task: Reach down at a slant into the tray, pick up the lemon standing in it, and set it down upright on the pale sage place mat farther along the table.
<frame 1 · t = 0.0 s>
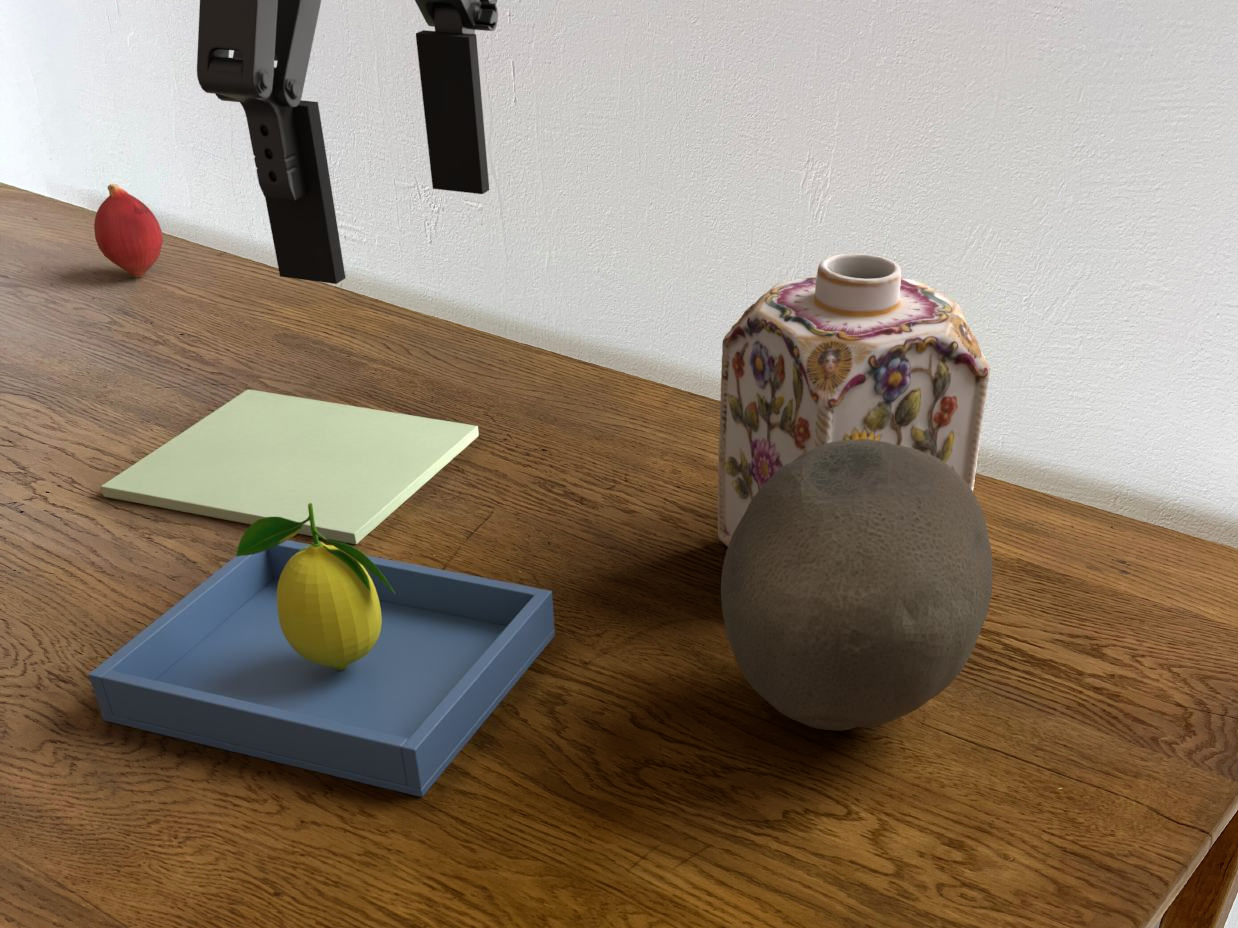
hand: (392, 231, 62), 24 cm above the table, tool pointing down, fingers open, 13 cm apart
decorative jar: (835, 562, 87), on the table
onion: (139, 278, 128), on the table
cantaloupe: (842, 720, 74), on the table
mat: (298, 465, 98), on the table
tray: (339, 676, 77), on the table
lemon: (338, 671, 77), resting on tray
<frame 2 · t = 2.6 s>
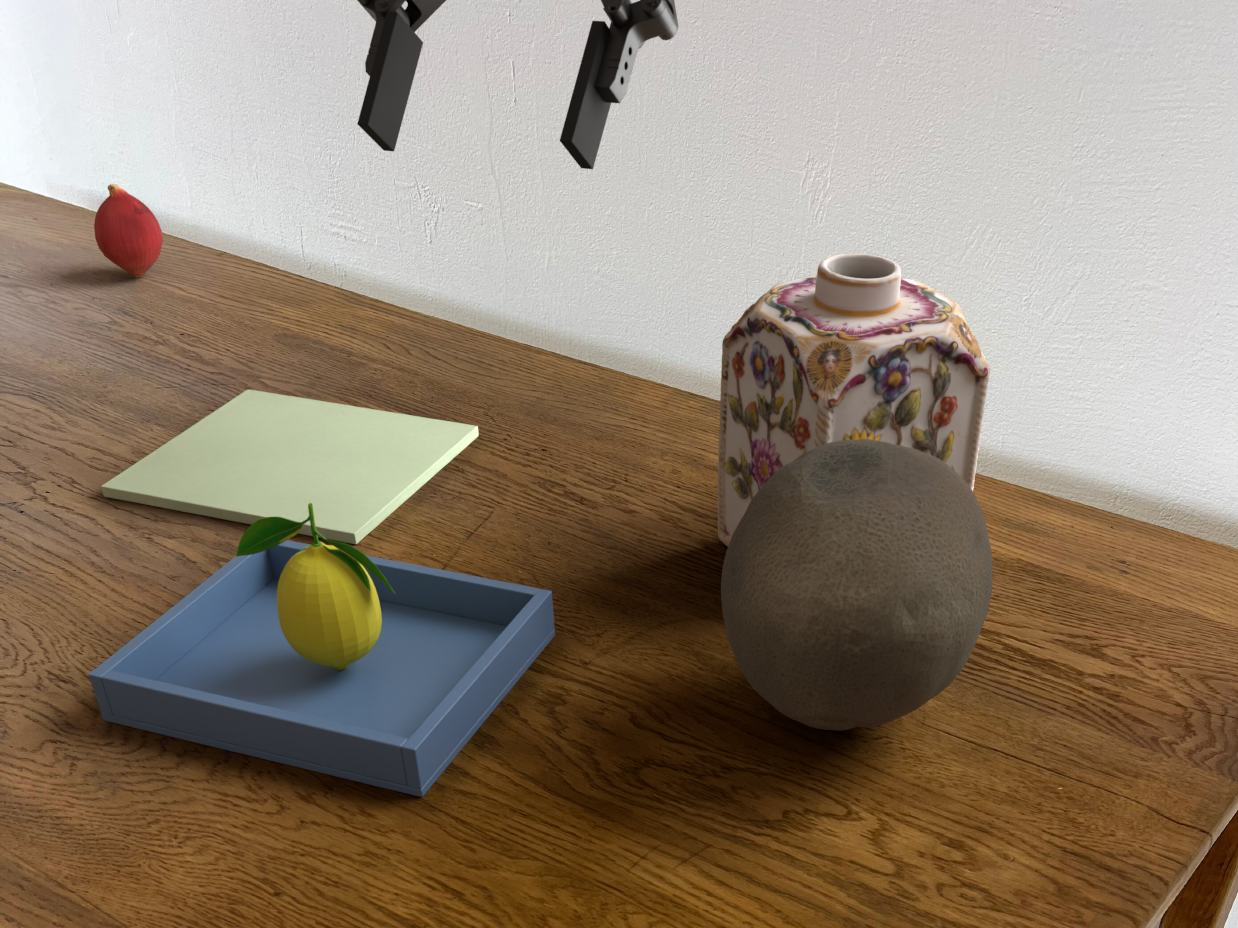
hand: (472, 147, 77), 22 cm above the table, tool tilted 40°, fingers open, 13 cm apart
nothing on the table moved.
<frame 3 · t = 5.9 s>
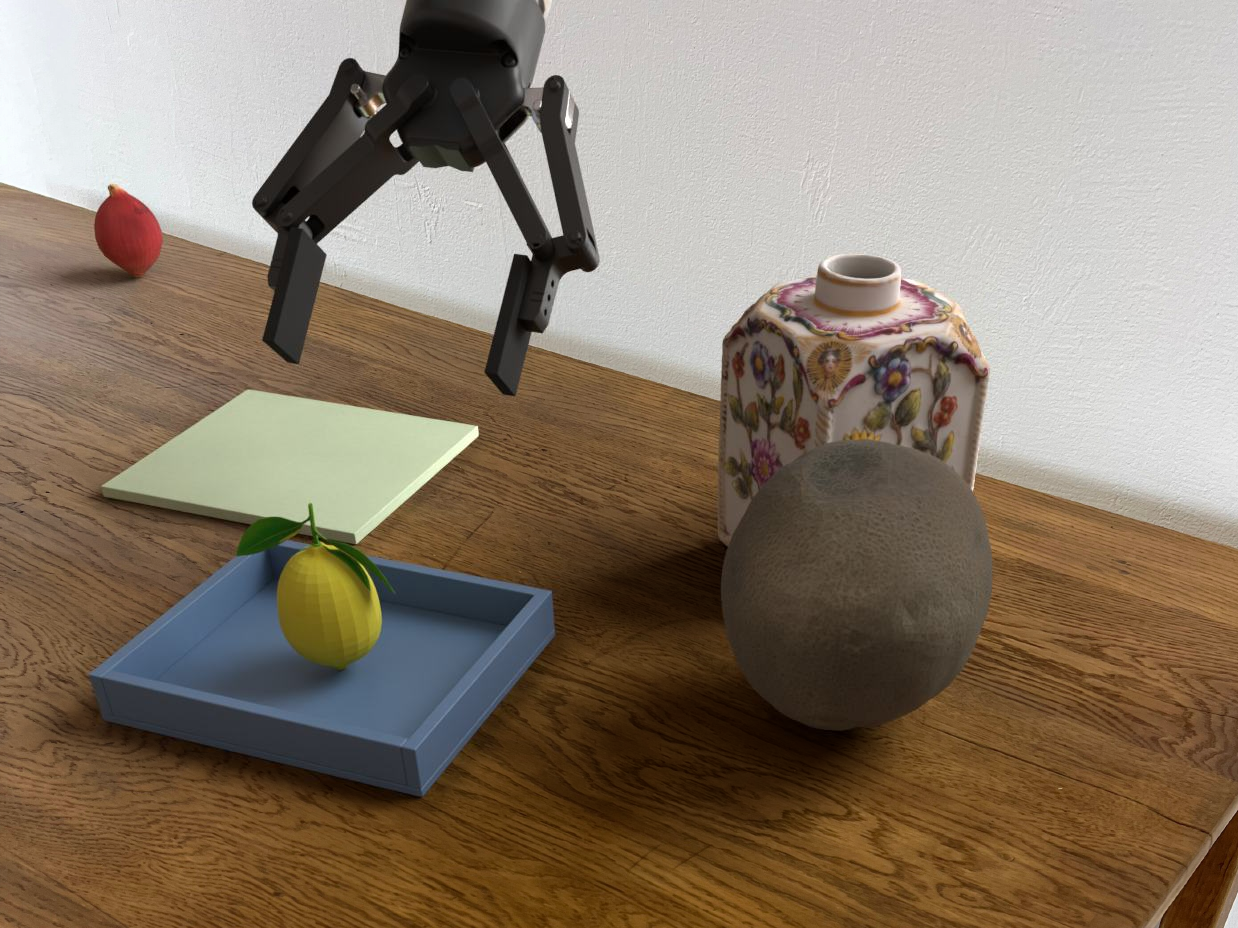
hand: (387, 369, 74), 14 cm above the table, tool tilted 45°, fingers open, 13 cm apart
nothing on the table moved.
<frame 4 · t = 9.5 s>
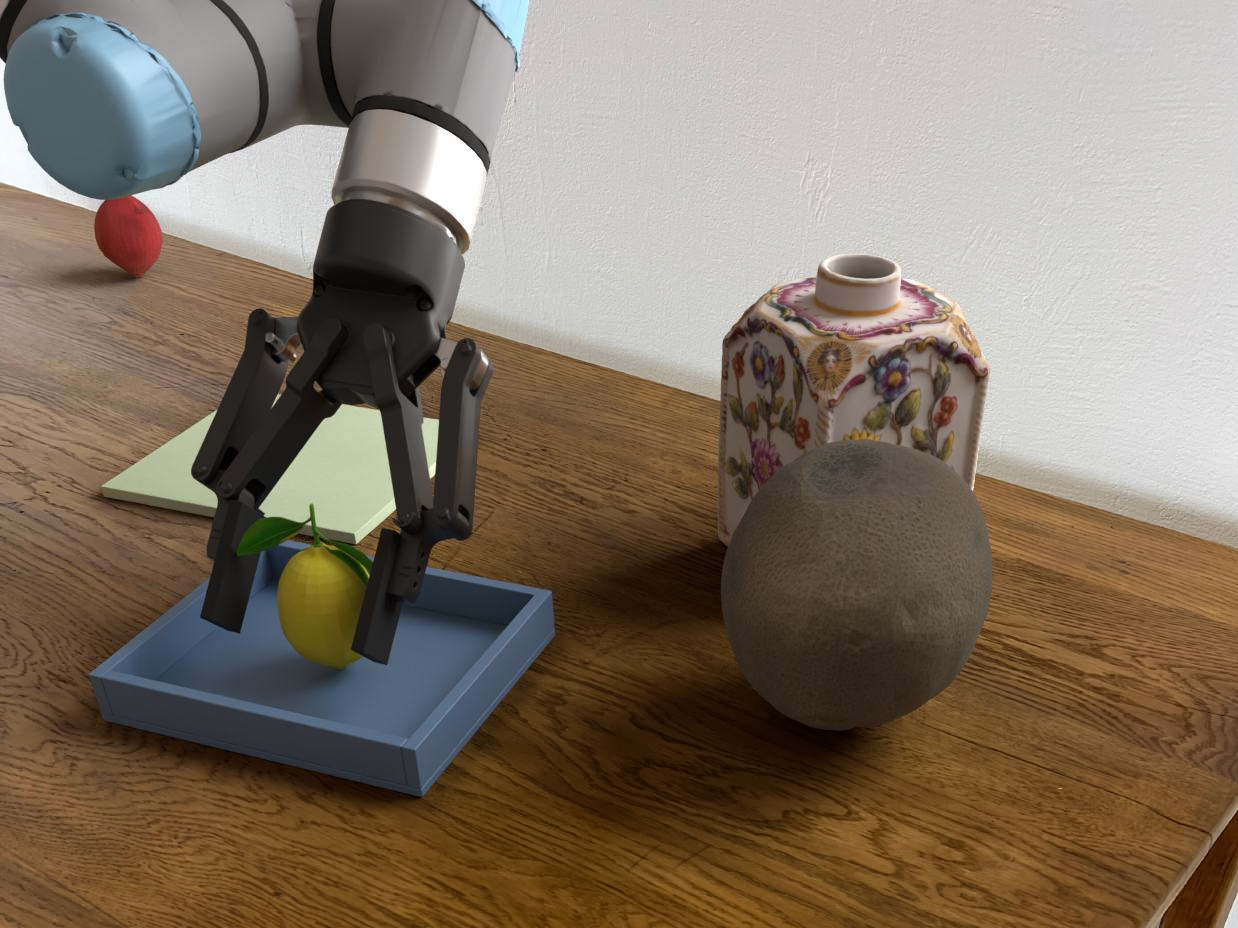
hand: (293, 641, 72), 4 cm above the table, tool tilted 45°, fingers closed on lemon, 8 cm apart
lemon: (338, 671, 77), resting on tray, touching gripper
everything else where it was.
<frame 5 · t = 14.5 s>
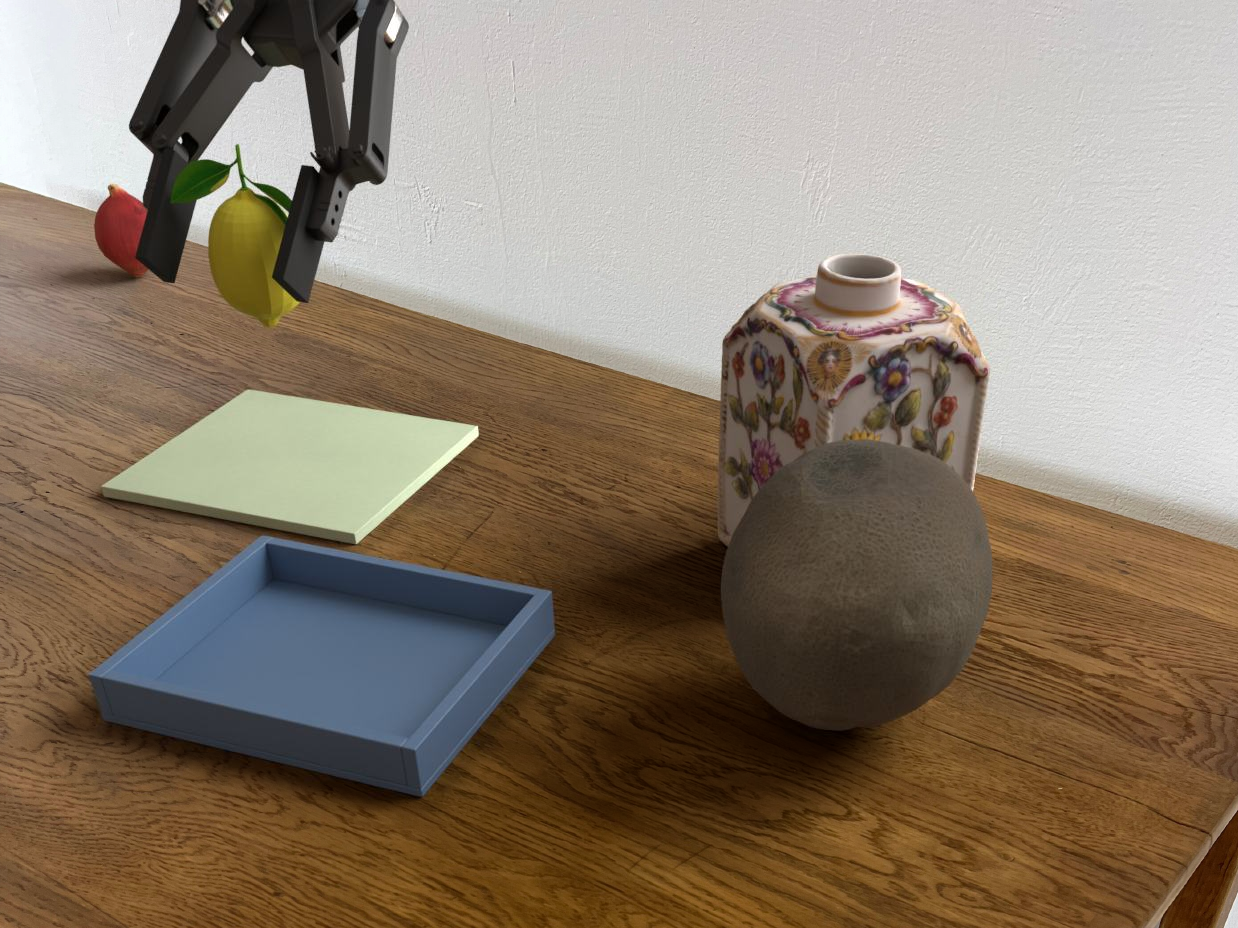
hand: (221, 280, 78), 17 cm above the table, tool tilted 45°, fingers closed on lemon, 8 cm apart
lemon: (267, 330, 83), point 13 cm above the table, touching gripper
everything else where it was.
when the fingers open (5 cm above the table, at t = 19.4 s): lemon stays where it is, resting on mat.
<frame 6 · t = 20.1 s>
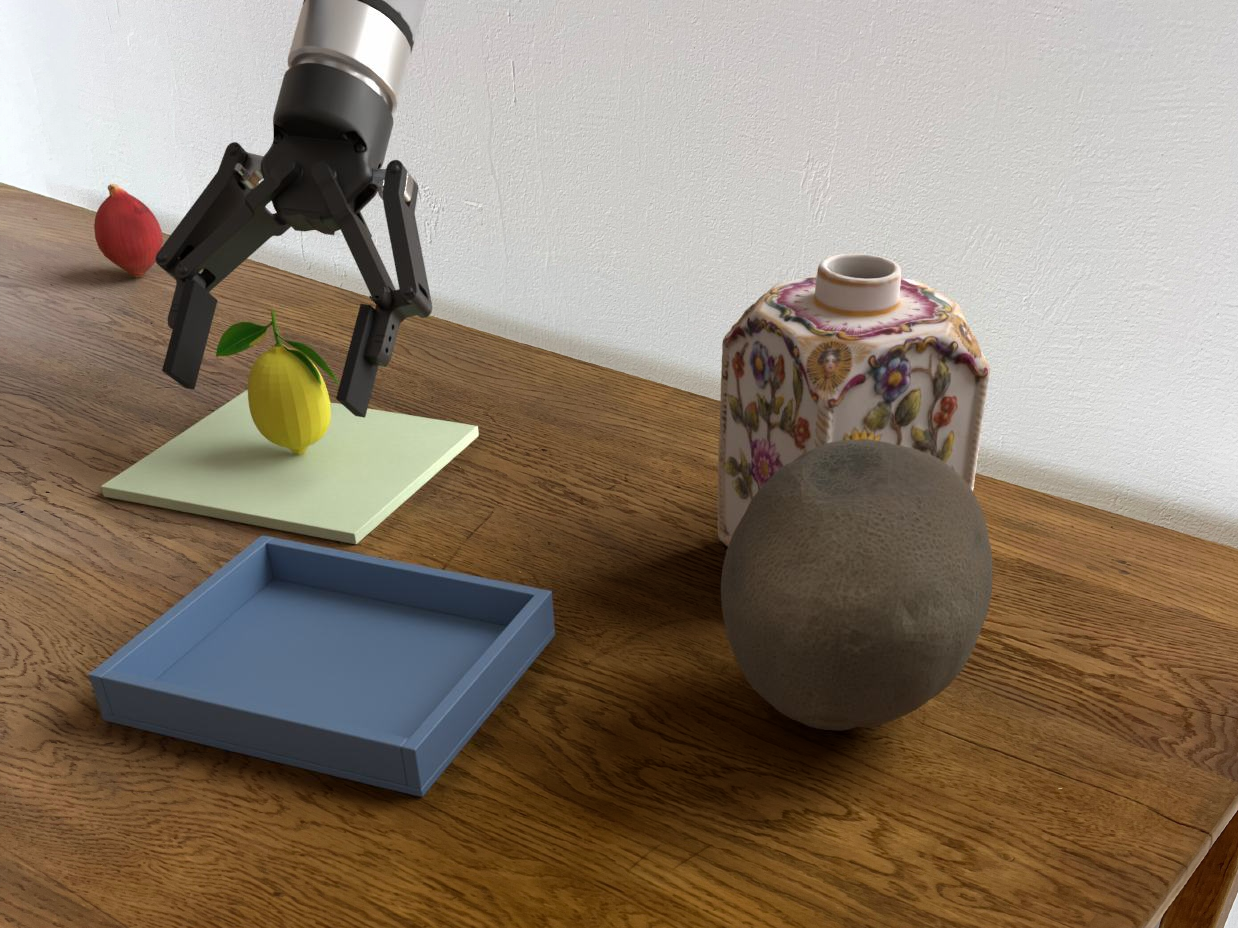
hand: (262, 395, 92), 6 cm above the table, tool tilted 45°, fingers open, 13 cm apart
lemon: (297, 456, 97), point 1 cm above the table, touching mat
everything else where it was.
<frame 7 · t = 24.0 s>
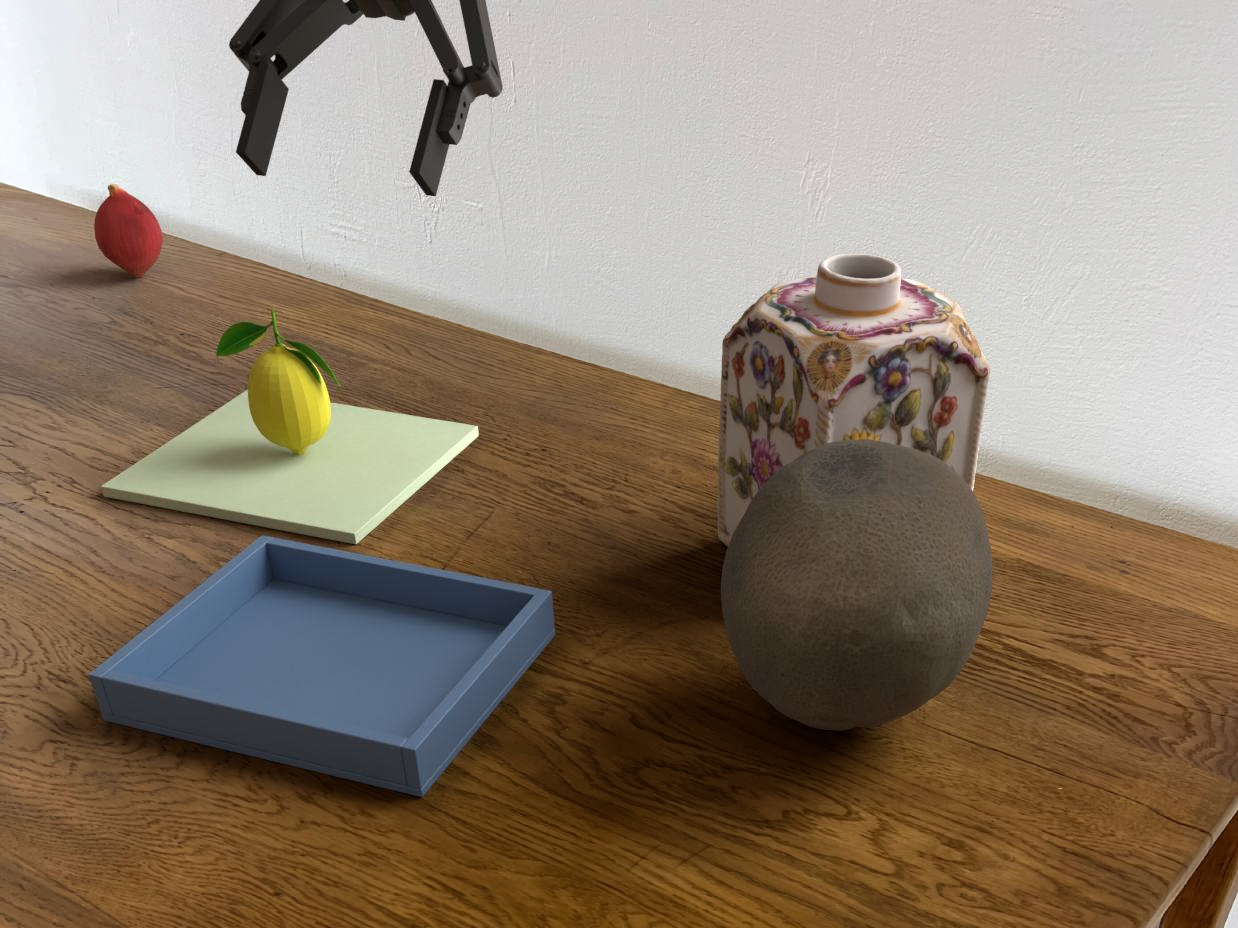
hand: (335, 175, 94), 17 cm above the table, tool tilted 45°, fingers open, 13 cm apart
nothing on the table moved.
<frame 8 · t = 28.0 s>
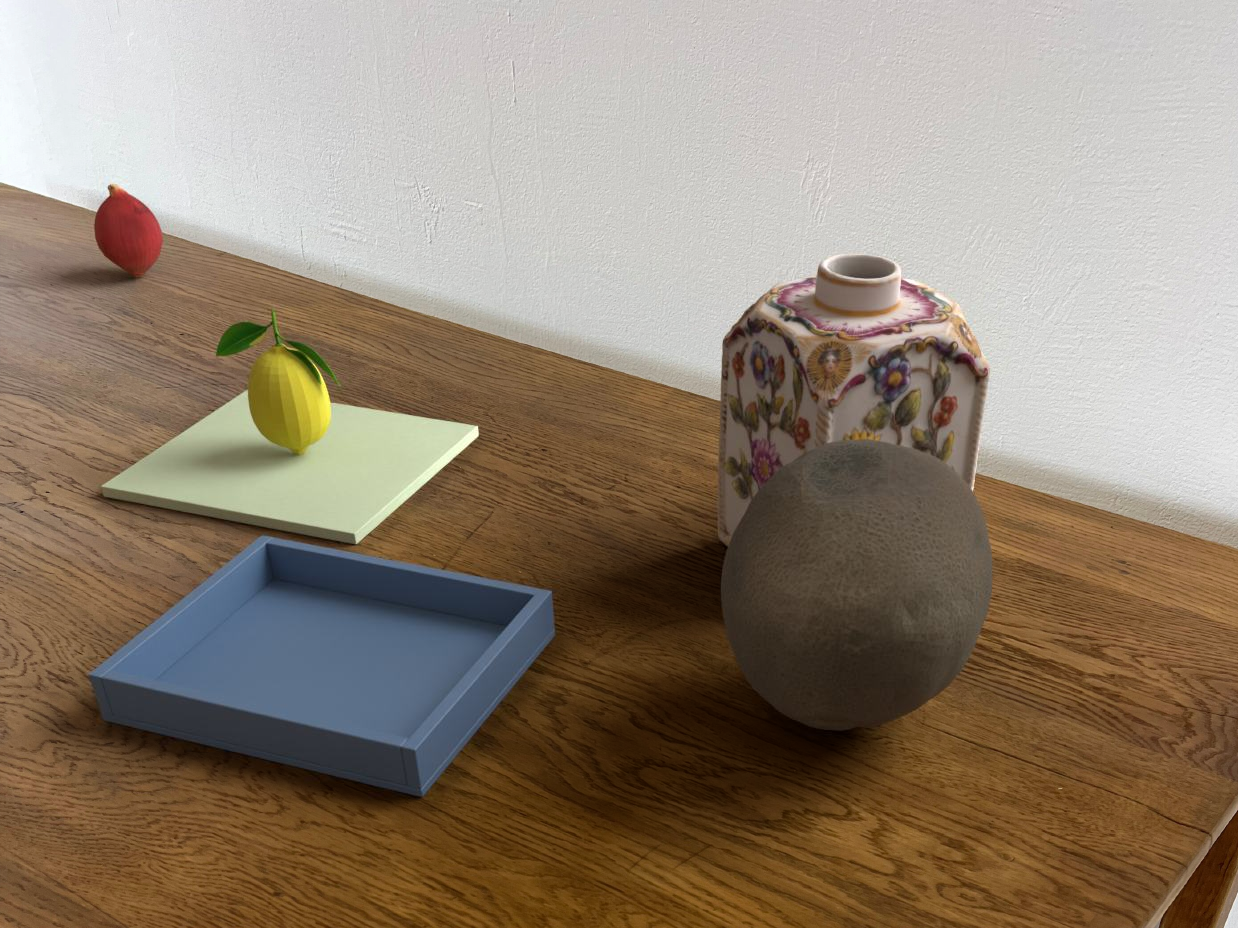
nothing on the table moved.
at the end: lemon inside the target area on the mat (0.1 cm from its centre), point 0.6 cm above the mat's base; lemon tilted 0°; the gripper is holding nothing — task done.
